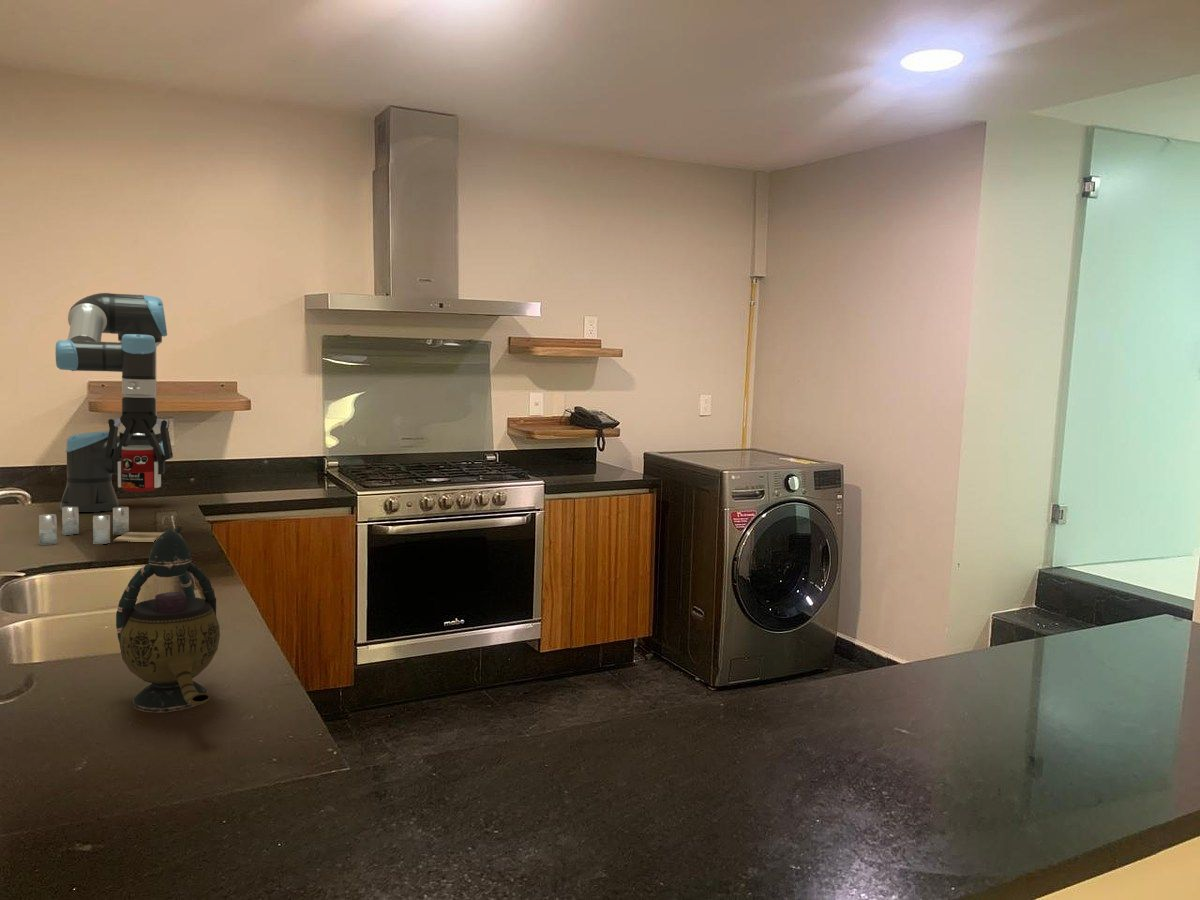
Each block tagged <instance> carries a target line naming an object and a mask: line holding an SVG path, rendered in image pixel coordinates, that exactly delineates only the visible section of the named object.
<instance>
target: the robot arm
mask: <svg viewBox="0 0 1200 900" xmlns="http://www.w3.org/2000/svg"><path fill="white" fill-rule="evenodd" d="M67 323H68V325H69V332H68V336H67V339H62V340H61V339H59V340H57V341H56V342H55V365H56V367H57V368H58V369H59V370H64V371H71V372H78V371H79V372H81V371H82V372H114V373H117V372H118V373H121V394H122V395H123V396H124V397H122V398H121V416H120V418H110V419H108V421H107V423H108V427H109V429H108V430H100V431H99V430H98V431H90V432H83V433H77V434H72V435H70V436H68V437H67V439H66V450H65V453H66V486H65V489H64V492H63V494H62V497H61V500H60V503H59V504H60V508H59V509H60V512H62V507H67V506H77V507H78V509H79V512H94V513H101V512H100V511H105V512H111V510H112V511H113V508H114V507H119V500H118V496H117V494H116V492H115V491H116V490H115V489H114V486H113V483H112V482H113V481H112V475H117V487H118V488H122V456H121V453H122V446H123V447H126V446H129V445H151V447H153V451H154V454H155V456H156V458H157V461H156V462H154V488H156V489H159V488H161V487H162V475H164V474H165V472H166V462H167V460H171V459H173V457H174V453H173V449H172V442H171V438H170V437H171V436H170V431H169V427H170V420H169V419H165V420H164V419H159V417H157V416H158V415H157V414H158V413H157V412H158V411H157V408H158V407H157V405H158V403H157V347H158V346H159V345H161V344H162V342H163V338H164V337H166V336H168V330H167V323H166V315H165V309H164V303H163V301H162V299H161V298H160V297H158V296H153V295H146V294H131V293H130V294H127V293H111V292H99V293H94V294H91V295H88V296H86V297H83V298H81V299H80V300H78V301H76V302H75V303H74V304H73V305H72V306H71V308H70V309H69V311H68V315H67ZM103 334H112V335H117V341H118V342H117V341H116V342H115V341H114V342H113V341H102V336H103ZM121 424H122V427H121V428H120V425H121ZM119 428H120V429H119ZM118 432H119V433H118ZM118 434H119V435H118Z"/></svg>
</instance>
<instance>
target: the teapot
mask: <svg viewBox="0 0 1200 900" xmlns="http://www.w3.org/2000/svg"><path fill="white" fill-rule="evenodd" d="M182 529H183V526H177V528H176V529H175V530H174V529H173V528H171V527H170V528H168V529H167V530H165V531H163V532H164V533H163V534H161V535H160V537H159V538H158V539H157V540H156V541H155V542H153V543H154V544H153V546H152V547H151V550H150V553H149V556H148V563H146V564H145V565H143V566H142V567H140V568H139V570H138V571H136V573H135V574H134V575H133V576H132V577H131V579H130V580H129V582H128V583H127V585H126V587H125V589H124V590H123V593H122V595H121V597H120V599H119V601H118V605H117V610H116V614H115V626H116V633H117V634H116V635H117V640H118V642H119V648H120V653H121V658H122V661H123V662H124V665H126V667H127V669H128V671H130V672H131V673H132V674H134V675H135V676H136V677H138V678H139V679H140V680H142V681H143V682H145V683H150V684H148V685H147V686H146V687H144V688H143V689H142V690H141V691H140V692H139V693H138V694H137V695H136V696H135V697H133V699H132V707H133V708H134V709H136V710H137V711H142V712H145V713H146V712H147V713H169V712H171V713H172V712H177V711H182V710H186V709H190V708H193V707H196V706H200V705H203V704H205V703H206V702H207V701H209V700H211V697H212V695H211V694H210V693H209V691H208V689H207V688H205V687H204V686H202V685H200V684H199V683H197V682H196V681H194V680H193V678H195V677H197V676H199V674H201V673H202V672H203V671H204V670H205V669H206V668H207V667H208V666H209V665H210V664H211V662H212V660H213V659H214V657H215V655H216V653H217V652H218V649H219V643H220V638H221V632H220V631H221V630H220V629H221V628H220V623H219V620H218V618H217V597H216V596H215V595H216V594H215V589H214V588H213V587H212V583H211V580H210V577H209V576H206V574H205V573H204V571H202V569H201V568H200V567H197V566H195V565H194V564H193V563H192V554H191V551H190V548H189V545H188V543H187V541H186V540H185V538H183V537H182V535H181V534H180V533H181V531H182ZM190 574H192V576H194V578H195V579H196V580H197V581H198V583H199V586H200V587H201V589H202V590H201V591H202V595H203V597H204V598H200V597H196V594H195V590H194V586H193V583H192V579H191V576H190ZM153 575H155V576H156V577H159V578H176V577H178V579H179V583H180V585H181V589H182V591H181V592H180V591H170V592H169V591H168V592H162V593H158V594H156V595H155V596H154V598H153V599H148V600H143V601H139V602H138V603H137V601H138V596H139V593H140V591H141V589H142V588H141V587H142V586H143V585H144V584H145V583H146V581H147V580H148V579H149V578H150V577H152V576H153Z"/></svg>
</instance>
